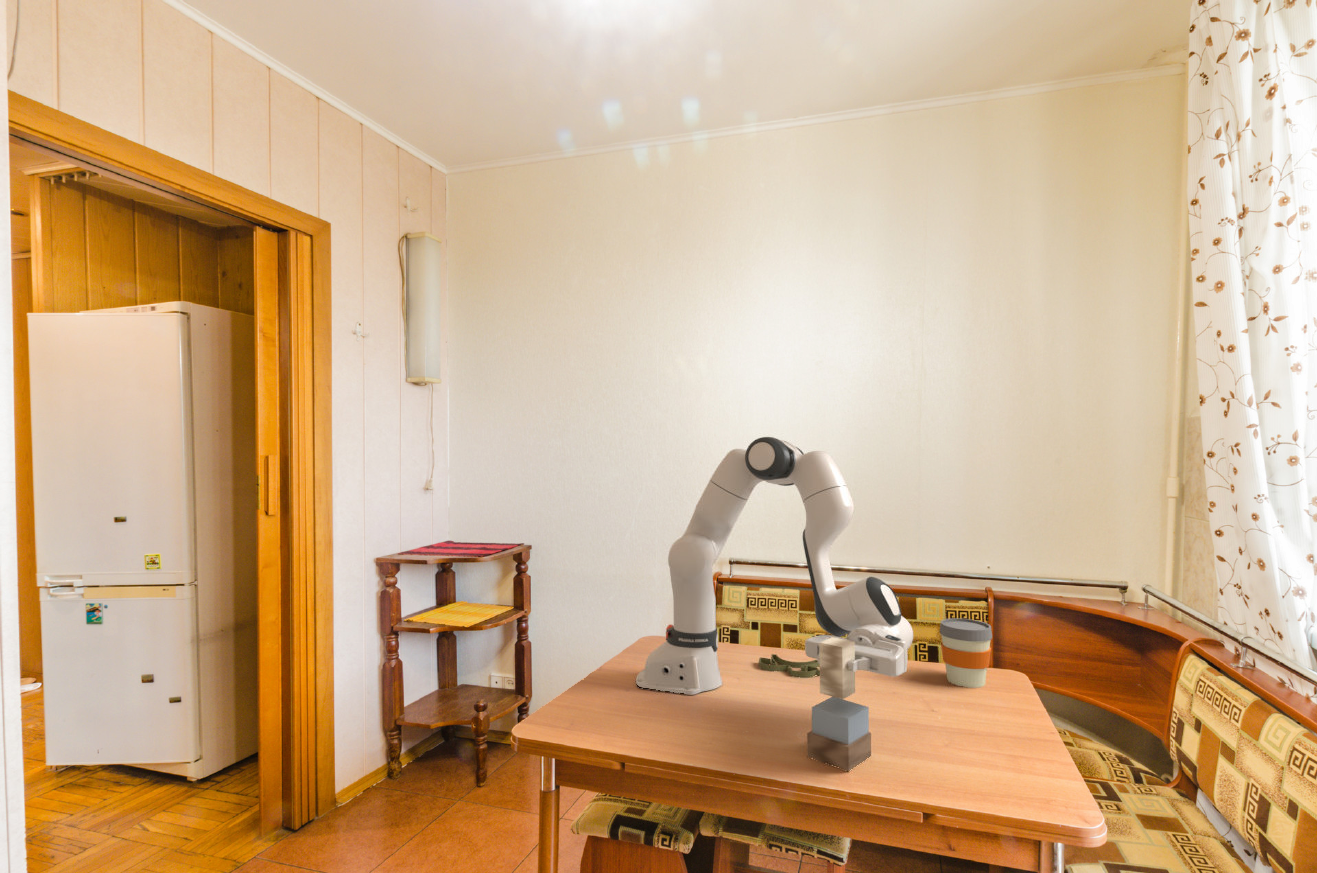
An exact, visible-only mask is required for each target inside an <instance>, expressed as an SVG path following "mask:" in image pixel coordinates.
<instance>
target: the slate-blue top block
mask: <svg viewBox="0 0 1317 873" xmlns="http://www.w3.org/2000/svg"><path fill="white" fill-rule="evenodd" d="M869 709H870V707H869V706H866V705H863V704H860V703H857V702H852V701H850V700H846V699H840V698H836V697H832V696H830V697H828V698H827V699H825V700H823V701H821V702H819V703H817V704H815V705H813V706H811V731H812V733H815V734H818V735H821V736H824V737H827V738H830V739H833V740H836V741H839V742H841V743H844V744H847V745H849V744H851V743H852V742H854V741H856V740H857V739H859V738H860V737H862V736H864V735H865V734H867V733H868V732H870V731H869V730H870V727H869V726H870V724H869V723H870V722H869V721H870V720H869V717H870V716H869V714H870V712H869V711H870V710H869Z"/></svg>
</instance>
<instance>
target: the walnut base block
mask: <svg viewBox="0 0 1317 873" xmlns="http://www.w3.org/2000/svg"><path fill="white" fill-rule="evenodd" d="M806 738H807V739H806V746H807V748H806V749H807V750H806V754H807V755H806V757H807V758H808V757H809V759H811V758H813V759H812V760H814V759H815V760H814V761H816V760H817V762H819V761H820V762H819V763H822V764H824V763H827V764H829V765H828V766H830V765H833V766H836V767H839V768H841V769H844V770H846V771H850V770H851V769H853V768H854V767H856V766H857V765H859V764H860V763H861V764H863V763H864V762H866V761H867V760H868V759H867V758H869V757H870V756H871V757H872V732H870V731H869V732H868V733H867V734H865V735H864V736H862V737H860V738H859V739H857V740H856V741H854V742H852V743H851V744H849V745H847V744H844V743H841V742H839V741H836V740H833V739H830V738H827V737H824V736H821V735H818V734H815V733H812V730H810V731H808V732H806ZM871 757H870V758H871ZM870 758H869V759H870ZM866 759H867V760H866ZM865 760H866V761H865ZM863 761H864V762H863ZM862 762H863V763H862ZM827 764H826V765H827ZM861 764H860V765H861ZM860 765H859V766H860ZM833 766H832V767H833ZM857 767H858V766H857ZM857 767H856V768H857ZM841 769H840V770H841ZM854 769H855V768H854ZM854 769H853V770H854ZM846 771H845V772H846ZM851 771H852V770H851ZM851 771H850V772H851Z"/></svg>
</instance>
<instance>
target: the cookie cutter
mask: <svg viewBox="0 0 1317 873" xmlns="http://www.w3.org/2000/svg"><path fill="white" fill-rule="evenodd" d="M768 664H770V665H768ZM758 667H759V669H761V670H763V669H764V671H767V672H774V671H777V672H787V674H788V673H789V674H788V675H790V677H792V676H794V677H793V678H799V677H800V678H801V679H805V678H806V679H808V678H810V677H811V678H814V677H813V676H815V675H817V676H820V663H818V662H817V659H814V660H810V661H791V660H786V659H783V658H781V657H779V656H778V655H777V654H773V653H771V655H770V658H768V657H759V658H758ZM791 667H792V668H791ZM817 667H819V668H817ZM794 669H800V671H799V670H794ZM817 676H815V677H817ZM811 678H810V679H811Z"/></svg>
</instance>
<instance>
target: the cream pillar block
mask: <svg viewBox="0 0 1317 873" xmlns="http://www.w3.org/2000/svg"><path fill="white" fill-rule="evenodd" d="M819 658H820V667H819V670H820V677H819V694H822V695H824V696H825V695H826V696H829V697H836V698H840V699H843V700H846V698H848V697H850V696H852V695H853V694H855V693H856V671H855V672H853V671H849V670H847V661H849V660H855V642H853V641H848V640H843V639H838V638H834V637H831V638H829V639H826V640H824V641H821V642H819Z"/></svg>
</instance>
